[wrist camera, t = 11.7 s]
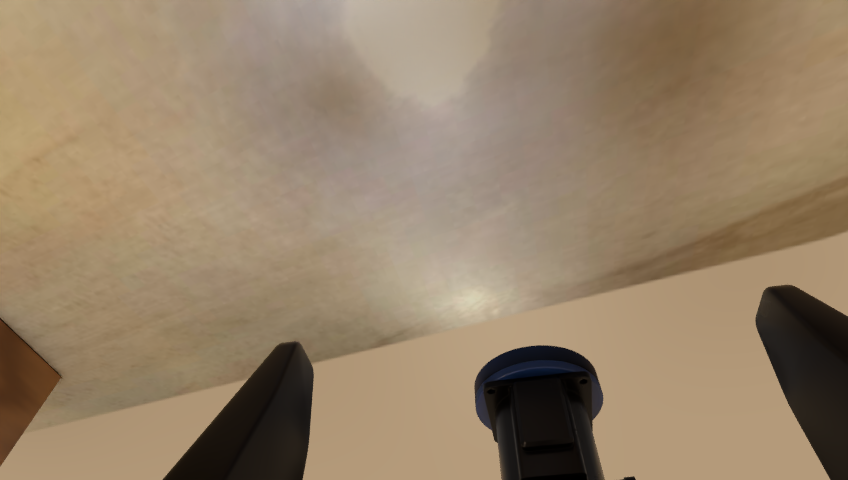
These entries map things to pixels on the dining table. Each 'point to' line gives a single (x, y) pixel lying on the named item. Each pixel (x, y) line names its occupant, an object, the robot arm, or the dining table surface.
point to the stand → (20, 387)
